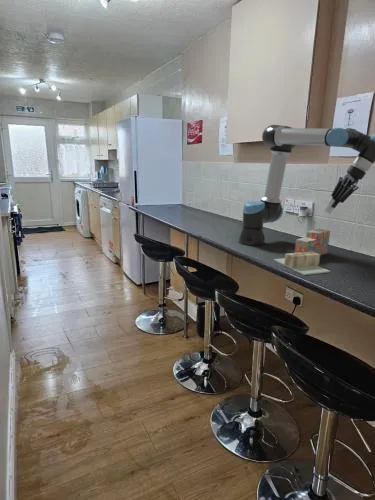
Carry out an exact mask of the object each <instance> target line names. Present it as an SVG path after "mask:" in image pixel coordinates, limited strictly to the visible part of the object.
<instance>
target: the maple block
mask: <svg viewBox="0 0 375 500" xmlns="http://www.w3.org/2000/svg"><path fill="white" fill-rule="evenodd" d="M321 256H322V255H321V254H318V253H316V252H301V253H295V252H293V253H292V252H290V253H285V255H284V258H285V263H284V264H285V265H287V266H289V267H291V268H293V267H303V266H314V265H318V266H320V262H321ZM287 266H286V267H287ZM289 267H288V268H289ZM291 268H290V269H291Z"/></svg>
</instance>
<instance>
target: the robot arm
mask: <svg viewBox="0 0 375 500" xmlns="http://www.w3.org/2000/svg"><path fill="white" fill-rule="evenodd" d="M261 134H262V135H261V139H262V142H263V144H264V146H266V147H268V148H269V152H270V153H271V157H270V163H269V164H270V165H269V170H268V174H267V181H266V185H265V190H264V191H265V192H264V195H263V197H261V198H260V200H253V201H252V200H251V201H246V202H245V203H244V204H243V209H242V227H241V228H242V229H241V231H240V234H239V237H238V243H239V244H242V245H248V246H262V245H265V244H266V238H265V234H264V224H267V223H275V222H277V221H280V219H281V218H282V216H283V212H284V208H283V206H282V204H281V203H282V201H281V199H280V196H281V191H282V185H283V182H284V176H285V171H286V165H287V161H288V156H290V155H291V154H292V150H293V149H294V148H295V147H296V146H313V147H314V146H316V147H317V146H318V147H319V146H320V147H333V148H334V147H336V148H348V149H352V150H353V151H356V152H358V155H356V157H355V158H354V160H353V162H351V163H352V165H350V166H349V167H348V168H347V170H346V174H345V175H344V177H341V176H340V177H339V178H338V181H337V183H336V185H335V187H334V189H333V191H332V193H331V195H330V196H331V200H330V202H329V203H328V205H327V207H326V208H325V209H324V212H325V213H327V214H332V212H333V211H334V209H335V208H337V206H338V205H339V203H341V204H343V203H344V202H346V200H347V199H348V198H349V197H350V196H351V195H352V194H354V192H355V191H357V190H358V189H359V188H360V187H359V186H358V183H359V181H360V180H363V178H364V177H365V176H366V174H367V172H368V171H369V170H370V169H371V168H372V166H373V164H374V163H375V132H374V133H372V135H368V134H365V133H363V132H360V131H359V130H357V129H355V128H352V127H346V128H343V127H335V128H334V127H333V128H319V127H318V128H316V127H314V128H311V127H309V128H306V127H303V128H301V127H300V128H298V127H297V128H296V127H295V128H294V127H291V126H287V125H279V124H271V125H268V126H267V127H265V129H264V130H263V131H262V133H261Z"/></svg>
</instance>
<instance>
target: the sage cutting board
mask: <svg viewBox="0 0 375 500" xmlns="http://www.w3.org/2000/svg"><path fill="white" fill-rule="evenodd" d="M273 261H275V262H277V264H280V265H282V266H285V267H287V268H289V269H291V270H293V271H295V272H297V273H299V274H301V275H303V276H308V275H318V274H319V275H320V274H326V273H331V270H329V269H326V268H324V267H322V266H320V265H314V266H303V267H293V268H291V267H289V266H287V265H285V264H284V263H285V257H283V258H274V259H273Z"/></svg>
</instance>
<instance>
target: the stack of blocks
mask: <svg viewBox="0 0 375 500" xmlns="http://www.w3.org/2000/svg"><path fill="white" fill-rule="evenodd" d="M330 237H331V230H328V229H322V228H317V229H311V230H307V231H306V236H305V237H301V238H298V239H297V238H296V240H295V245H294V253H301V252H316V253H318V254H321V255H320V256H323V255H327V254H328V250H329V242H330Z"/></svg>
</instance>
